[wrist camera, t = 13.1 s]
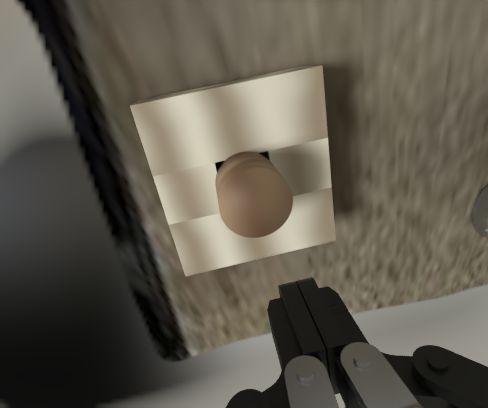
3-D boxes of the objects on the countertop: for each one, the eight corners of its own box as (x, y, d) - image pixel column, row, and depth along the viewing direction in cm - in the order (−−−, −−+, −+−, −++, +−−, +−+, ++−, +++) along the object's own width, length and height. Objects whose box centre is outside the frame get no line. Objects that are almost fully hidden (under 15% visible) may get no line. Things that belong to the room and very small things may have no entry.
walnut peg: (262, 135, 30) (287, 161, 22) (270, 186, 32) (297, 228, 24) (207, 147, 30) (211, 178, 21) (219, 197, 32) (227, 245, 23)
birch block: (302, 66, 29) (322, 65, 24) (317, 218, 35) (335, 240, 31) (140, 99, 28) (129, 105, 23) (187, 249, 35) (185, 276, 30)
